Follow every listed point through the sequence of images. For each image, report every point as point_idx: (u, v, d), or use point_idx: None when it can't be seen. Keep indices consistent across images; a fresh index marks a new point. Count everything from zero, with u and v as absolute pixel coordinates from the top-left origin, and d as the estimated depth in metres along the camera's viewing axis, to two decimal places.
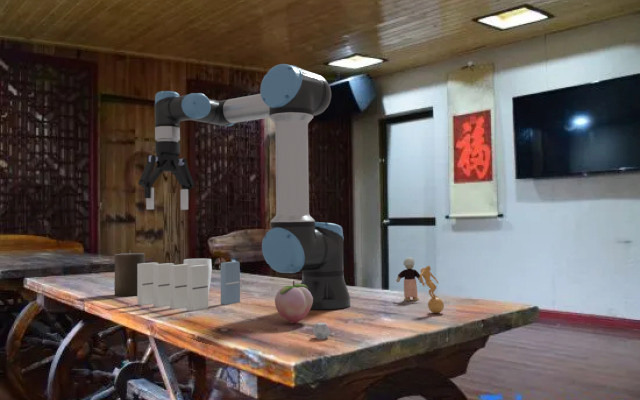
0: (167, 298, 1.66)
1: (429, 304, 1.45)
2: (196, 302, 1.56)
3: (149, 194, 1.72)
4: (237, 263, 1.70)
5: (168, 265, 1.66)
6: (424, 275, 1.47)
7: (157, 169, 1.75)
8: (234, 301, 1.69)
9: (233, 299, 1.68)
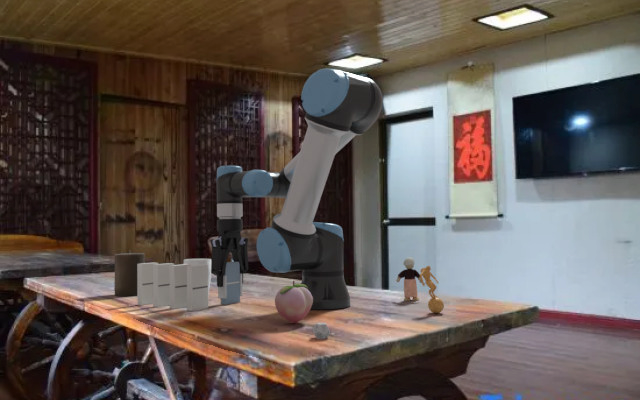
0: (167, 298, 1.66)
1: (429, 304, 1.45)
2: (196, 302, 1.56)
3: (222, 283, 1.65)
4: (237, 263, 1.70)
5: (168, 265, 1.66)
6: (424, 275, 1.47)
7: (223, 252, 1.66)
8: (234, 301, 1.69)
9: (233, 299, 1.68)
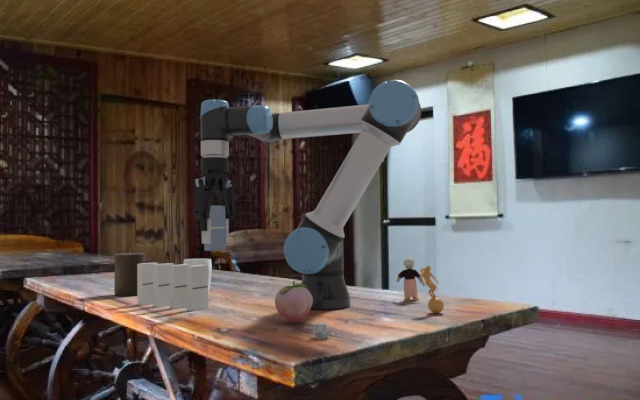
0: (167, 298, 1.66)
1: (429, 304, 1.45)
2: (196, 302, 1.56)
3: (205, 226, 1.51)
4: (222, 207, 1.56)
5: (168, 265, 1.66)
6: (424, 275, 1.47)
7: (207, 193, 1.52)
8: (219, 248, 1.55)
9: (218, 246, 1.54)
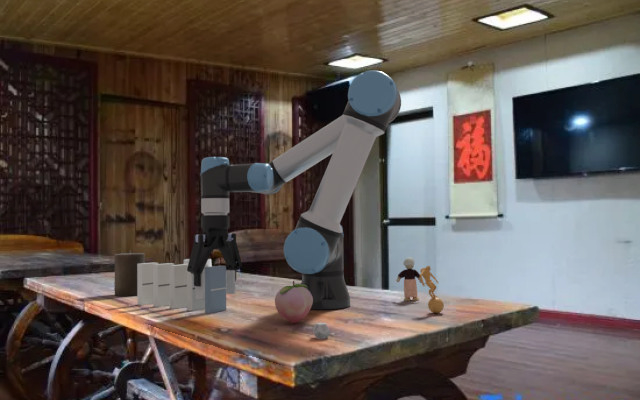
0: (167, 298, 1.66)
1: (429, 304, 1.45)
2: (196, 302, 1.56)
3: (199, 282, 1.48)
4: (223, 267, 1.56)
5: (168, 265, 1.66)
6: (424, 275, 1.47)
7: (205, 250, 1.51)
8: (220, 309, 1.54)
9: (219, 307, 1.54)
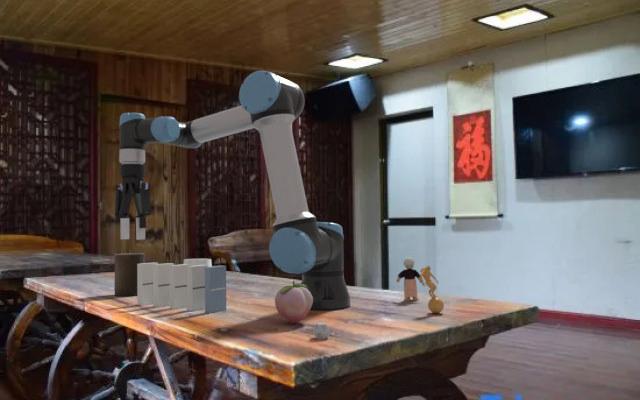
0: (167, 298, 1.66)
1: (429, 304, 1.45)
2: (196, 302, 1.56)
3: None
4: (223, 267, 1.55)
5: (168, 265, 1.66)
6: (424, 275, 1.47)
7: None
8: (220, 309, 1.54)
9: (219, 307, 1.54)
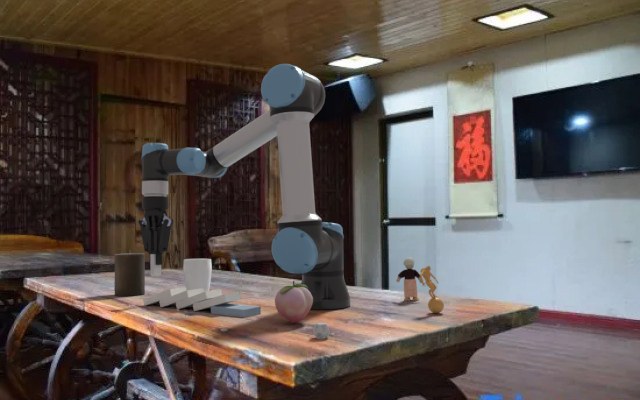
0: (175, 304, 1.64)
1: (429, 304, 1.45)
2: None
3: None
4: (256, 314, 1.48)
5: None
6: (424, 275, 1.47)
7: None
8: None
9: None
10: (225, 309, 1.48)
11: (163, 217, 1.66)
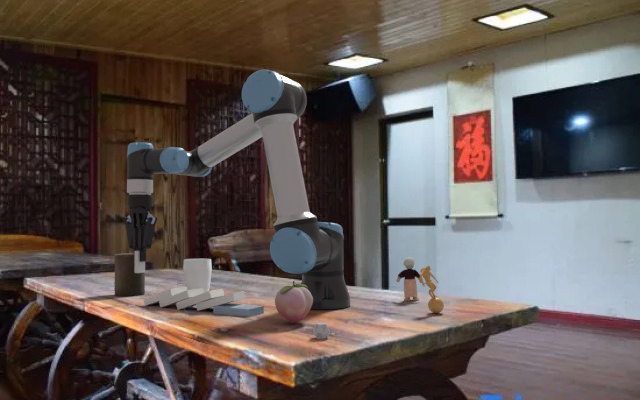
0: (175, 304, 1.64)
1: (429, 304, 1.45)
2: (207, 308, 1.55)
3: None
4: None
5: None
6: (424, 275, 1.47)
7: None
8: None
9: None
10: (228, 309, 1.48)
11: (147, 215, 1.70)
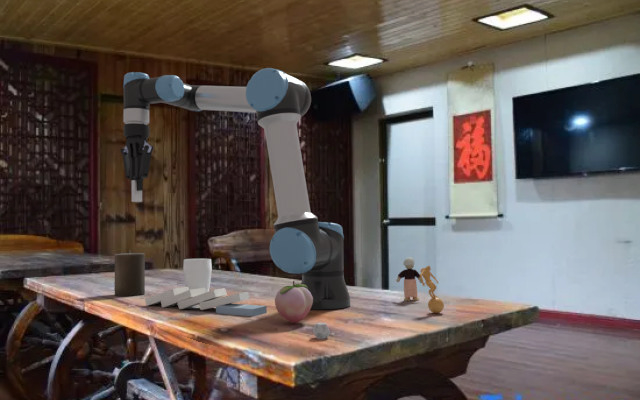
0: (176, 304, 1.64)
1: (429, 304, 1.45)
2: None
3: None
4: None
5: None
6: (424, 275, 1.47)
7: None
8: None
9: None
10: (231, 309, 1.48)
11: (144, 144, 1.71)
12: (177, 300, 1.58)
